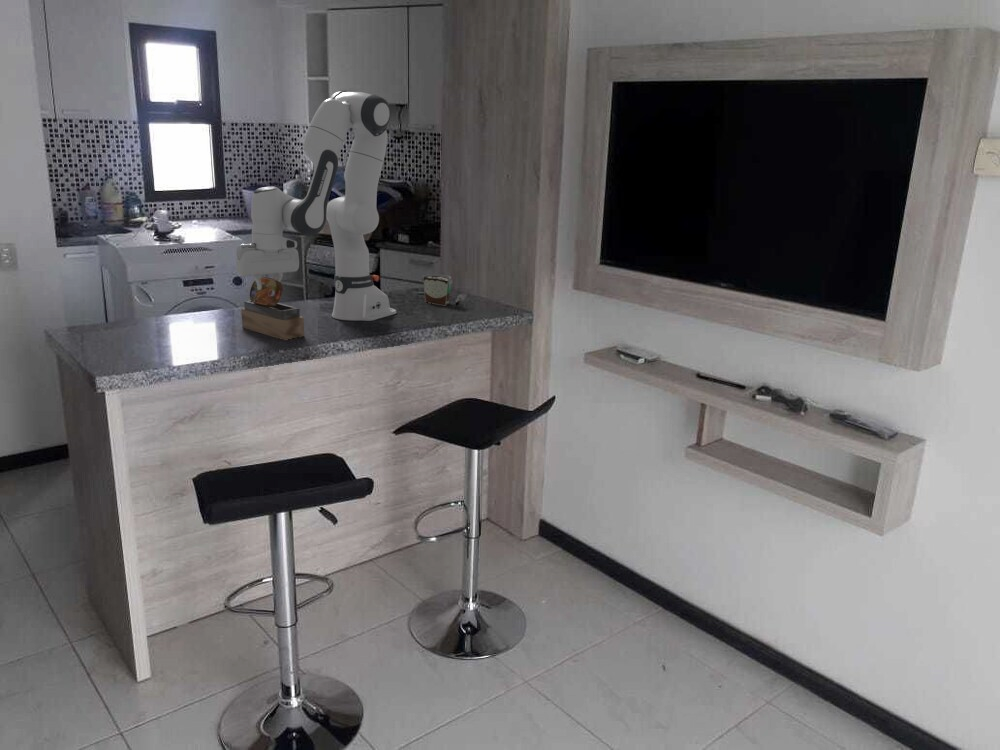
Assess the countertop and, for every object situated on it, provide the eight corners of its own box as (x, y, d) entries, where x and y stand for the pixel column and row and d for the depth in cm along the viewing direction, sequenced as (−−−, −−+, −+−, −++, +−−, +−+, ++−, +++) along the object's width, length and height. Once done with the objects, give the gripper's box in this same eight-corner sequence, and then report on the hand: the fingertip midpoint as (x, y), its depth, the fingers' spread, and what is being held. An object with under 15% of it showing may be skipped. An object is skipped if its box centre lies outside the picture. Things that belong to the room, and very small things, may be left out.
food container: (458, 303, 297) (459, 277, 294) (449, 306, 292) (449, 279, 289) (431, 299, 303) (432, 273, 300) (421, 301, 298) (421, 275, 295)
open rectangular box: (261, 323, 258) (260, 297, 255) (304, 336, 244) (303, 309, 242) (242, 327, 252) (240, 300, 250) (284, 340, 239) (283, 312, 237)
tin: (246, 300, 248) (253, 274, 248) (255, 303, 250) (262, 277, 250) (270, 307, 237) (277, 279, 237) (279, 309, 239) (286, 282, 239)
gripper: (242, 245, 230) (244, 293, 234) (301, 241, 246) (302, 286, 249) (230, 243, 234) (232, 290, 238) (289, 239, 249) (290, 283, 253)
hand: (268, 288), depth 244 cm, fingers closed on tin, 4 cm apart
